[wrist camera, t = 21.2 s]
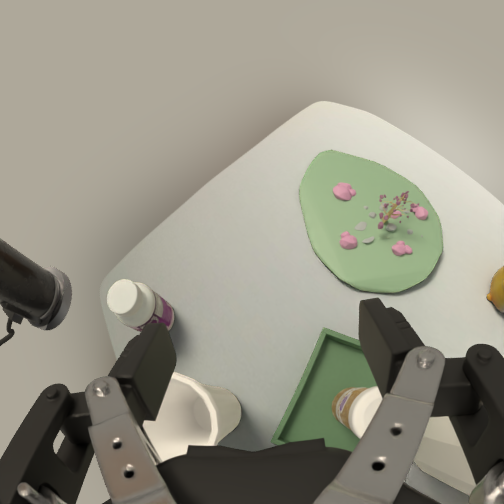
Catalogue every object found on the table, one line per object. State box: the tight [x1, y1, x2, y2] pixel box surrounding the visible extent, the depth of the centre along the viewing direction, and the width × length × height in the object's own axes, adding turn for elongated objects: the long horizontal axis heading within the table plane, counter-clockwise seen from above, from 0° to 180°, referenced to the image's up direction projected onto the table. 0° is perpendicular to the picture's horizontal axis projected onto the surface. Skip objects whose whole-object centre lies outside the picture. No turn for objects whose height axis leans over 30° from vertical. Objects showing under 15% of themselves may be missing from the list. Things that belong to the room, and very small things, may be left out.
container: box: [413, 356, 504, 496], centre depth 18 cm, size 14×14×18 cm
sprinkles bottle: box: [332, 386, 382, 439], centre depth 23 cm, size 5×5×14 cm
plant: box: [299, 150, 443, 293], centre depth 37 cm, size 25×21×9 cm
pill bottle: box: [107, 279, 174, 332], centre depth 34 cm, size 5×5×10 cm
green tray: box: [271, 328, 377, 452], centre depth 29 cm, size 14×13×3 cm
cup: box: [143, 372, 241, 461], centre depth 26 cm, size 8×8×14 cm
